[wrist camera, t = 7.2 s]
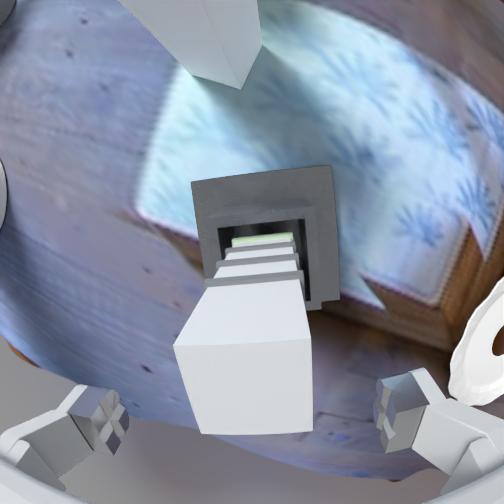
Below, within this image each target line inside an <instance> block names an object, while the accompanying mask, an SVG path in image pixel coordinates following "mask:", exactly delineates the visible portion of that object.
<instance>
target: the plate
mask: <svg viewBox="0 0 504 504" xmlns="http://www.w3.org/2000/svg"><path fill="white" fill-rule="evenodd" d="M503 325H504V276H503V277H502V278H501V279H500V280H499V281H498V282H497V283H496V284H495V286H494V287H493V289H492V290H491V292H490V293H489V295H488V296H487V297H486V298H485V299H484V300H483V301H482V302H481V303H480V304H479V305H478V306H477V307H476V308H475V310H474V312H473V313H472V315H471V316H470V318H469V320H468V321H467V324H466V327H465V330H464V333H463V335H462V338H461V339H460V341H459V343H458V344H457V346H456V348H455V349H454V351H453V354H452V357H451V360H450V379H449V383H448V390H449V394H450V395H451V396H453V397H455V398H456V399H457V401H458V402H461V403H463V404H466V405H468V406H473V405H481V406H482V405H485V404H488V403H490V402H492V401H493V400H495V399H496V398H497V397H499V396H500V395H502V394H504V354H503V355H501V356H494V355H493V353H492V344H493V340H494V338H495V336H496V334H497V332H498V331H499V330H500V328H501V327H502V326H503Z"/></svg>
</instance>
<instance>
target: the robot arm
mask: <svg viewBox="0 0 504 504" xmlns="http://www.w3.org/2000/svg"><path fill="white" fill-rule="evenodd" d="M6 199H7V191H6V180H5V174H4V170H3V167H2V164H1V162H0V228H1V226H2V223H3V220H4V216H5V210H6ZM375 389H376V392H377V394H378V395H377V397H376V398H375V399H374V402H373V417H374V422H375V425H376V428H378V429H380V430H381V435H380V440H381V443H382V446H383V448H384V451H385V453H390V452H394V451H398V450H402V449H406V448H410V447H412V449H413V450H414V451H416V452H417V453H419V454H420V455H421V456H423V457H424V458H425V459H427V460H428V461H429V462H431V463H432V464H434V465H435V466H436V467H438V468H439V469H441V470H442V471H443V472H445V473H447V474H448V475H449V476H451V477H450V478H449V480H448V481H447V483H446V484H445V486H444V487H443V488H442V490H441V492H440V494H441V496H440V497H438V498H435V499H432V500H430V501H427V502H424V503H421V504H504V420H503V419H500V418H497V417H495V416H492V415H490V414H487V413H485V412H482V411H480V410H478V409H475V408H473V407H470V406H468V405H466V404H463V403H461V402H458V401H456V400H454V399H451V398H450V399H446V398H445V396H444V395H443V393H442V392H441V390H440V389H439V387H438V386H437V384H436V383H435V382H434V380H433V379H432V377H431V376H430V374H429V373H428V371H427V370H426V369H425V368H420V369H417V370H413V371H409V372H406V373H402V374H398V375H393V376H389V377H384V378H379V379H378V380H377V382H376V388H375ZM120 400H121V398H120V396H119V394H118V392H117V391H115V390H113V389H107V388H101V387H95V386H87V385H82V384H79V385H76V386H75V388H74V389H73V390H72V391H71V392H70V394H69V395H68V396H67V397H66V398H65V399H64V401H63V402H62V403H61V404H60V406H59V407H58V408H57V409H56V410H51V411H49V412H47V413H44V414H42V415H40V416H38V417H36V418H33V419H31V420H29V421H27V422H24V423H22V424H20V425H18V426H15V427H13V428H10V429H8V430H6V431H5V432H4V433H3V434H2V435H1V436H0V504H95V503H92V502H90V501H87V500H84V499H81V498H79V497H76V496H74V495H71V494H69V493H67V492H65V490H66V487H65V485H64V484H63V483H62V482H61V481H60V480H59V479H58V478H59V477H60V476H62V475H63V474H65V473H66V472H67V471H69V470H70V469H72V468H73V467H74V466H76V465H77V464H78V463H80V462H81V461H83V460H84V459H85V458H87V457H88V456H90V455H91V454H92V453H93V451H94V452H99V453H103V454H108V455H113V456H114V454H115V452H116V450H117V448H118V447H119V445H120V443H121V442H120V438H119V437H120V436H122V435H124V434H125V433H126V431H127V429H128V426H129V416H128V413H127V411H126V409H125V408H124V407H123V406H122V405H121V404H120V403H119V402H120Z"/></svg>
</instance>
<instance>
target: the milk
mask: <svg viewBox="0 0 504 504" xmlns="http://www.w3.org/2000/svg"><path fill="white" fill-rule="evenodd" d="M118 1H119V2H120V3H121V4H122V5H123V6H124V7H125V8H126V9H128V10H129V11H130V12H131V13H132V14H133V15H134V16H135V17H136V18H137V19H138V20H139V21H140V22H141V23H142V24H143V25H144V26H145V27H146V28H147V29H148V30H149V31H150V32H151V33H152V34H153V35H154V36H155V37H156V38H157V39H158V40H159V41H160V42H161V44H162V45H163V46H164V47H165V48H166V49H167V50H168V51H169V52H170V53H171V54H172V55H173V56H174V57H175V58H176V59H177V60H178V62H179V63H180V64H181V65H182V66H183V67H184V68H185V69H186V70H187V71H188V72H189V74H191V75H194V76H198V77H201V78H205V79H208V80H212V81H215V82H218V83H222V84H225V85H228V86H231V87H234V88H237V89H242V87H243V84H244V82H245V80H246V78H247V76H248V74H249V72H250V70H251V68H252V66H253V64H254V62H255V59H256V57H257V55H258V53H259V51H260V49H261V47H262V45H263V43H262V35H261V27H260V19H259V12H258V4H257V0H118Z"/></svg>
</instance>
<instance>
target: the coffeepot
mask: <svg viewBox="0 0 504 504" xmlns="http://www.w3.org/2000/svg"><path fill="white" fill-rule="evenodd" d="M15 1H16V0H0V26H1V25H2V24H3V23H4V21H5V20H6V19H7V17H8V16H9V14H10V13H11V11H12V9H13V7H14V4H15Z"/></svg>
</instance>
